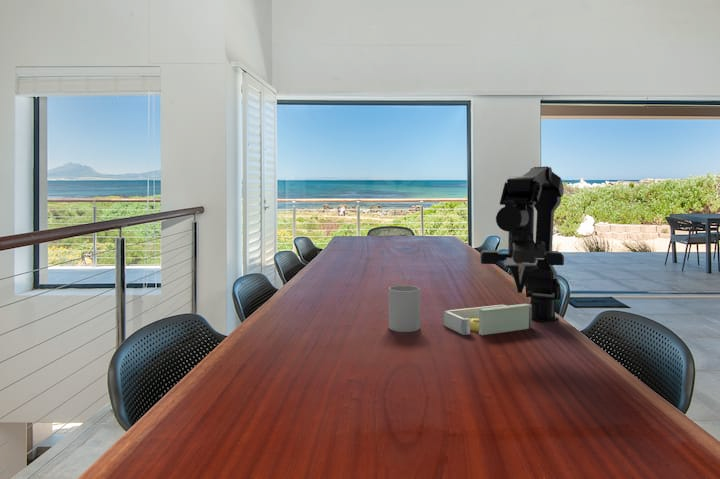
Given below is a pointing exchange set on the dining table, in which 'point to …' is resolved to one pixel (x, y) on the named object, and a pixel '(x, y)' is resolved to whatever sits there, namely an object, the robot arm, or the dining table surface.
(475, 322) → the cord coil
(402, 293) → the mug
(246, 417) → the dining table surface
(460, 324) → the white open pen
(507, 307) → the cover
